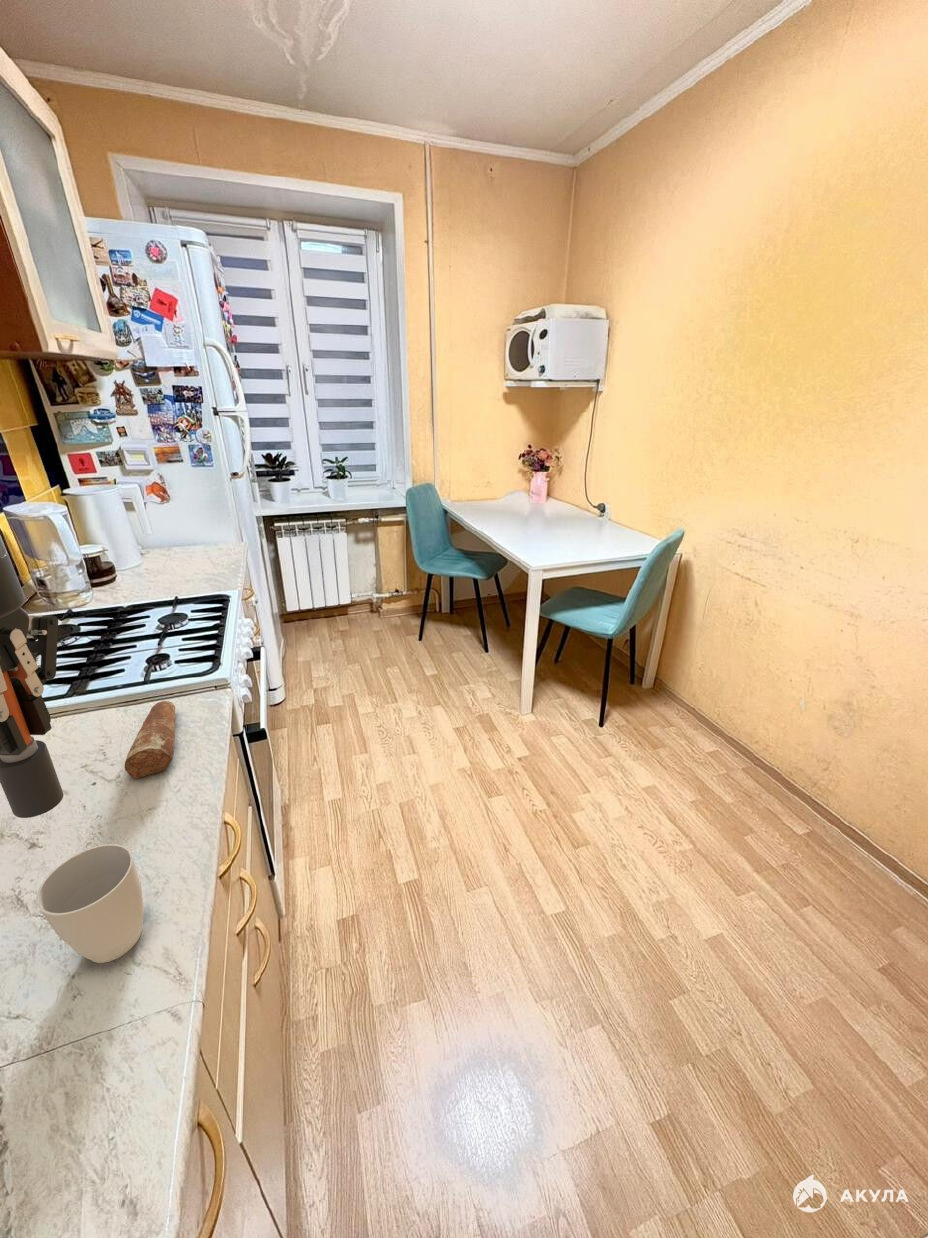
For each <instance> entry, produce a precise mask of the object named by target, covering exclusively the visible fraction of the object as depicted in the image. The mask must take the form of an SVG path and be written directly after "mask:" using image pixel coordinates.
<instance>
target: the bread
mask: <svg viewBox="0 0 928 1238" xmlns="http://www.w3.org/2000/svg"><path fill="white" fill-rule="evenodd" d="M175 732H176V705H175V704H174V703H173V702H171V701H169V700H163V701H159V702H157V703H155V704H154V705H152V706H151V708H150V710H149V712H148V714H147V716H146V718H145V719H144V721H143V723H142V725H141V728H139V731H138V732H137V735H136V737H135V738H134V741H133V743H132V745H131V747H130V749H129V751H128V753H127V756H126V759H125V761H124V770H125V771H126V772H127V774H128V775H129V776H130V777H132V778H136V779H139V778H143V777H146V776H150V775H154V774H158V773H161V772H163V771H164V770H166V769H167V768H168V767H169V766H170V765H171V763H172V761H173V757H174V753H175V737H176V735H175Z"/></svg>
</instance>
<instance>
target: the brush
mask: <svg viewBox="0 0 928 1238" xmlns="http://www.w3.org/2000/svg"><path fill="white" fill-rule="evenodd" d="M3 676H4V679H5V682H6V686H7V691H6V692H4V694H3V695H4V698H5V701H6V704H7V707H8V710H9V716H13V717H14V719H15V721H16V723H17V725H18V728H19V730H20V732H21V734H22V736H23V738H24V741H25V743H26V745H27V749H26V750H25V751H24V752H22V753H21V754H20V755H0V786H1V788H2V790H3V792H4V795H5V797H6V800H7V802H8V805H9V807H10V809H11V812H12V814H13V815H14V816H15V817H17V818H20V819H29V818H34V817H38V816H41V815H44V814H46V813H49V812H50V811H51V810H53V809H55V808H56V807H57V806H59V804H60V803H61V802H62V801H63V799H64V791H63V788H62V785H61V782H60V780H59V777H58V774H57V772H56V769H55V766H54V763H53V760H52V757H51V755H50V752H49V749H48V746H47V744H46V742H45V741H43V740H38V739H36V738H35V737H34V736H33V735H30V733H29V730H28V727H27V724H26V722H25V719H24V716H23V714H22V711H21V708H20V705H19V703H18V700H17V697H16V694H15V692H14V689H13V686H12V683H11V681H10V678H9V675H8V673H7V671H5V672H4V673H3Z"/></svg>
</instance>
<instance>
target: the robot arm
mask: <svg viewBox="0 0 928 1238" xmlns="http://www.w3.org/2000/svg"><path fill="white" fill-rule="evenodd" d="M5 545H6V544H5V543H4V540H3V538H2V535H1V534H0V755H20V754H21V753H22V752H24V751H25V750H26V749H27V745H26V743H25V741H24V738H23V736H22V734H21V732H20V730H19V728H18V725H17V723H16V721H15V719H14V717H13V716H9V710H8V707H7V704H6V701H5V698H4V695H3V694H4V692H6V691H7V686H6V682H5V679H4V676H3V673H4V672H5V671H7V673H8V675H9V678H10V681H11V683H12V686H13V689H14V692H15V694H16V697H17V700H18V703H19V705H20V708H21V711H22V714H23V716H24V719H25V722H26V724H27V727H28V730H29V733H30V735H31V736H45V735H46V734H48V732H49V731H51V730H52V724H51V722H52V721H51V718H52V717H51V714H50V712H49V710H48V707H47V705H46V702H45V699H44V698H43V694H44V691H45V690H44V689H45V688H44V685H45V684H46V682H47V681H51V680H54V679H55V677H56V675H57V658H58V639H59V638H58V637H59V635H58V634H59V619H58V617H57V616H55V615H29V614H28V612H27V611H26V610H25V609H23V608H22V607H23V605H24V604H25V602H26V595H25V593H24V590H23V588H22V586H21V582H20V581H19V578H18V575H17V572H16V570H15V568H14V565H13V563H12V560H11V558H10V555H9V553H8V551H7V548H6V546H5ZM38 654H39V655H40V666H38V664H37V655H38Z"/></svg>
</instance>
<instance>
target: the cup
mask: <svg viewBox="0 0 928 1238" xmlns="http://www.w3.org/2000/svg"><path fill="white" fill-rule="evenodd" d="M141 883H142V882H141V880H140V876H139V873H138V870H137V866H136V863H135V860H134V856H133V853H132V851H131V850H130V849H129V848H128V847H126V846H124V845H122V844H119V843H118V844H117V843H107V844H100V845H96V846H92V847H90V848H87V849H85V850H83V851H80V852H78V853H76V854H74V855H73V856H71V857H70V858H68V859H66V860H64V861H63V862H62V863H60V864H59V865H57V867H56V868H54V869H53V870H52V871H51V872H50V873H49V874H48V876H46V878H45V879H44V880H43V881H42V882H41V884H40V886H39V888H38V890H37V893H36V898H35V903H36V906H37V908H38V910H39V911H40V913H41V915H43V917H44V918H45V919H46V921H47V922H48V924H49V925H50V927H51V928H52V929H53V931H54V932H55V934H56V935H57V936H58V937H59V938H60V939H61V940H62V941H64V943H66V945H68V946H69V947H70V948H71V949H72V950H73V951H74V952H75V953H76V954H78V955H80V956H82V957H84V958H86V959H87V960H90V961H91V962H94V963H97V964H104V963H109V962H113V961H114V960H116V959H119V958H121V957H122V956H124V955H125V954H126V953H128V952H129V951H130V950H131V949H132V948H133V947H134V946H135V945H136V944H137V942H138V941H139V939H140V937H141V935H142V933H143V925H144V923H143V922H144V914H145V908H144V907H145V906H144V897H143V891H142V884H141Z"/></svg>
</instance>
